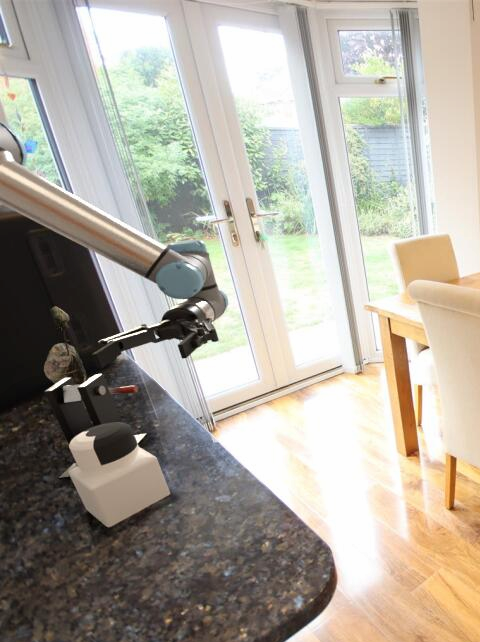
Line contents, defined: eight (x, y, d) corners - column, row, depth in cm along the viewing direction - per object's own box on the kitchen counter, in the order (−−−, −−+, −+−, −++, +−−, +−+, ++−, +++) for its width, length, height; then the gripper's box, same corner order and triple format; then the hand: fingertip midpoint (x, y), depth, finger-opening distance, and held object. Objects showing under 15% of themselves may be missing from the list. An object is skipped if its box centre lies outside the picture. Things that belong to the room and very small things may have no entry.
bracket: (101, 446, 76) (68, 371, 71) (149, 439, 77) (120, 365, 72) (61, 485, 67) (20, 402, 62) (116, 477, 68) (80, 394, 63)
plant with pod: (104, 388, 96) (66, 296, 88) (111, 407, 88) (70, 307, 81) (51, 403, 90) (6, 306, 83) (54, 424, 83) (5, 319, 75)
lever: (104, 400, 76) (103, 385, 76) (138, 395, 77) (137, 381, 77) (52, 404, 65) (50, 387, 66) (92, 399, 66) (91, 383, 67)
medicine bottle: (149, 483, 66) (119, 411, 62) (173, 499, 63) (144, 424, 58) (88, 514, 61) (50, 437, 56) (111, 534, 57) (73, 454, 53)
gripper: (253, 328, 106) (221, 366, 87) (130, 341, 101) (68, 384, 82) (244, 297, 103) (210, 329, 84) (118, 309, 98) (50, 345, 79)
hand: (139, 356), depth 83 cm, fingers open, 13 cm apart
